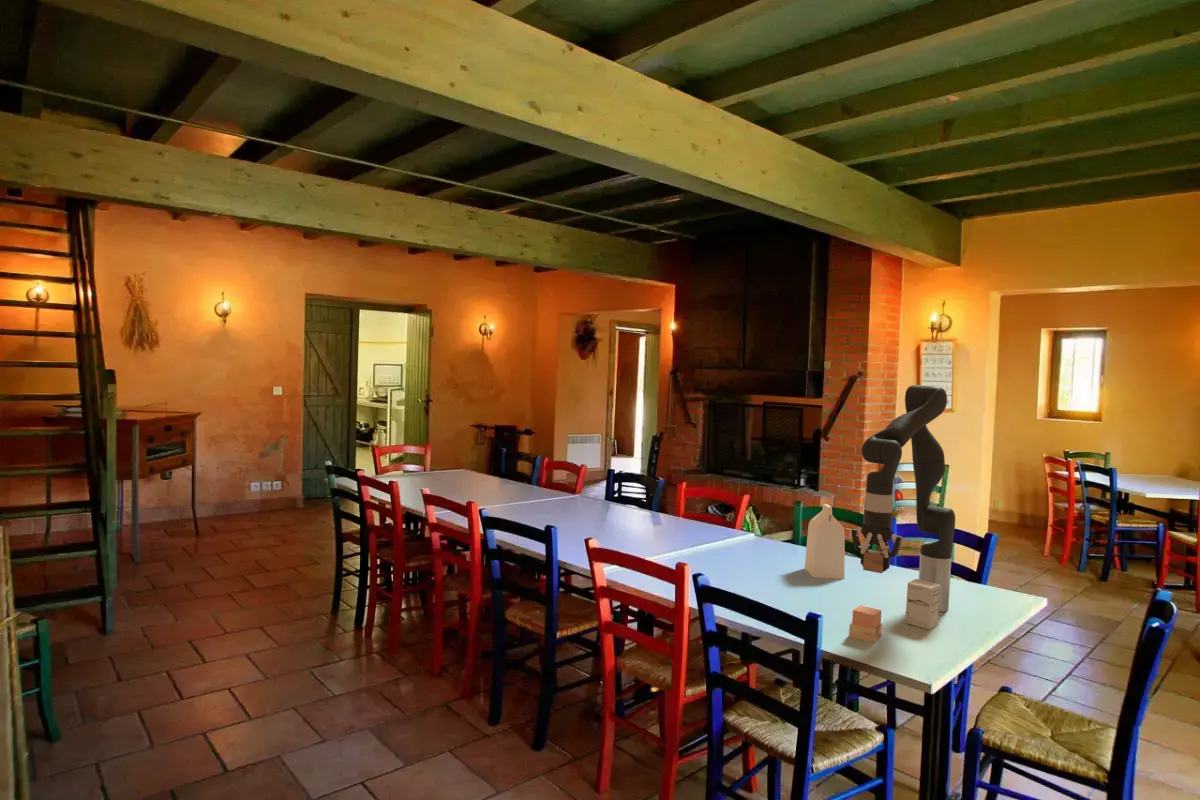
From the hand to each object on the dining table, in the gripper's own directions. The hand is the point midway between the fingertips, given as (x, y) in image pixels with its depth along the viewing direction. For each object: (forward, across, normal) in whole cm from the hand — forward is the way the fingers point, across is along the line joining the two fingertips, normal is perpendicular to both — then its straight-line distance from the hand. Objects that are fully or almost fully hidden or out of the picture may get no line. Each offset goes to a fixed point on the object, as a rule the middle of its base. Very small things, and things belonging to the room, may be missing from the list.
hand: (874, 568), depth 198 cm
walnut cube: (0, 0, 0) cm, 0 cm away
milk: (+19, +32, -58) cm, 69 cm away
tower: (+16, +1, 0) cm, 16 cm away
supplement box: (+20, -9, -23) cm, 32 cm away
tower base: (+20, +1, 0) cm, 20 cm away
